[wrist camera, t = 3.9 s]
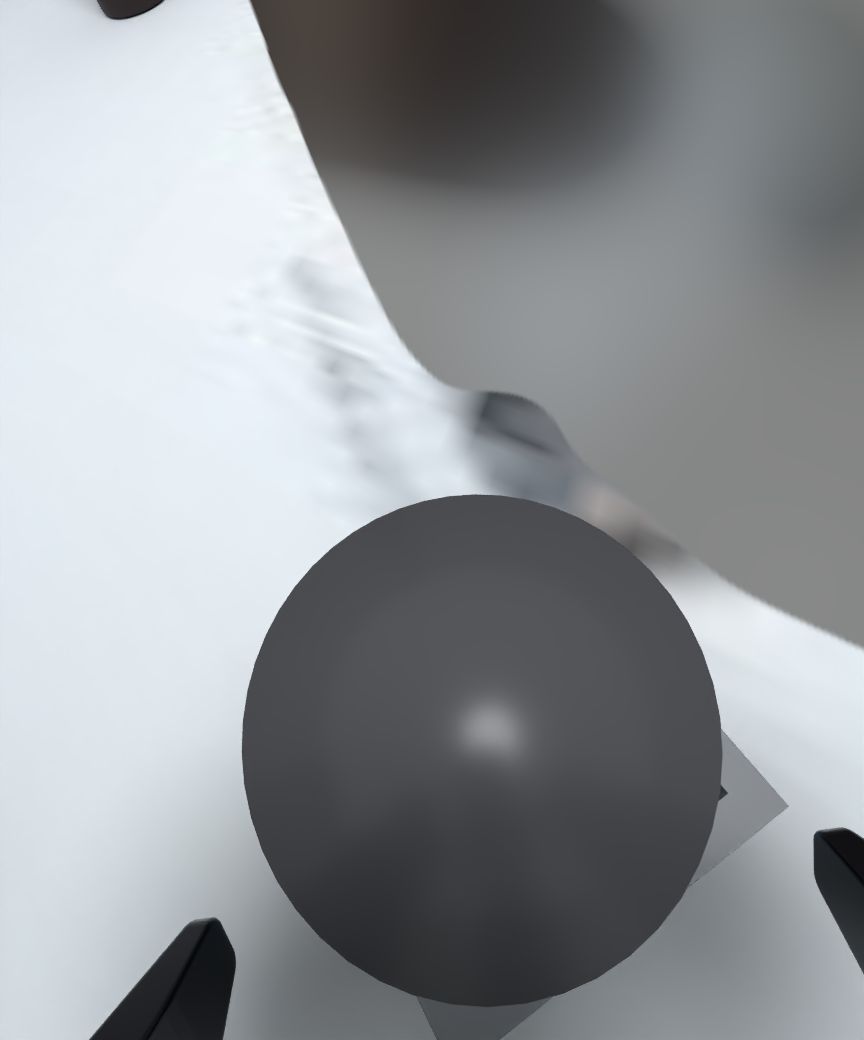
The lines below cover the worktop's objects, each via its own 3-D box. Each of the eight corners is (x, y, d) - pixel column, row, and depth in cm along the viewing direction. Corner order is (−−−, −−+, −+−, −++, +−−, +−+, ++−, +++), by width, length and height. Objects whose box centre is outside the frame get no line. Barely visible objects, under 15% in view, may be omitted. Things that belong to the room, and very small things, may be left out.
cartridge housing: (469, 1027, 16) (454, 1075, 13) (308, 709, 20) (273, 697, 18) (749, 803, 17) (789, 806, 14) (536, 550, 21) (535, 516, 19)
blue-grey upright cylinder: (483, 920, 17) (385, 1153, 6) (373, 722, 20) (179, 647, 9) (659, 784, 17) (847, 778, 7) (527, 613, 20) (513, 426, 10)
